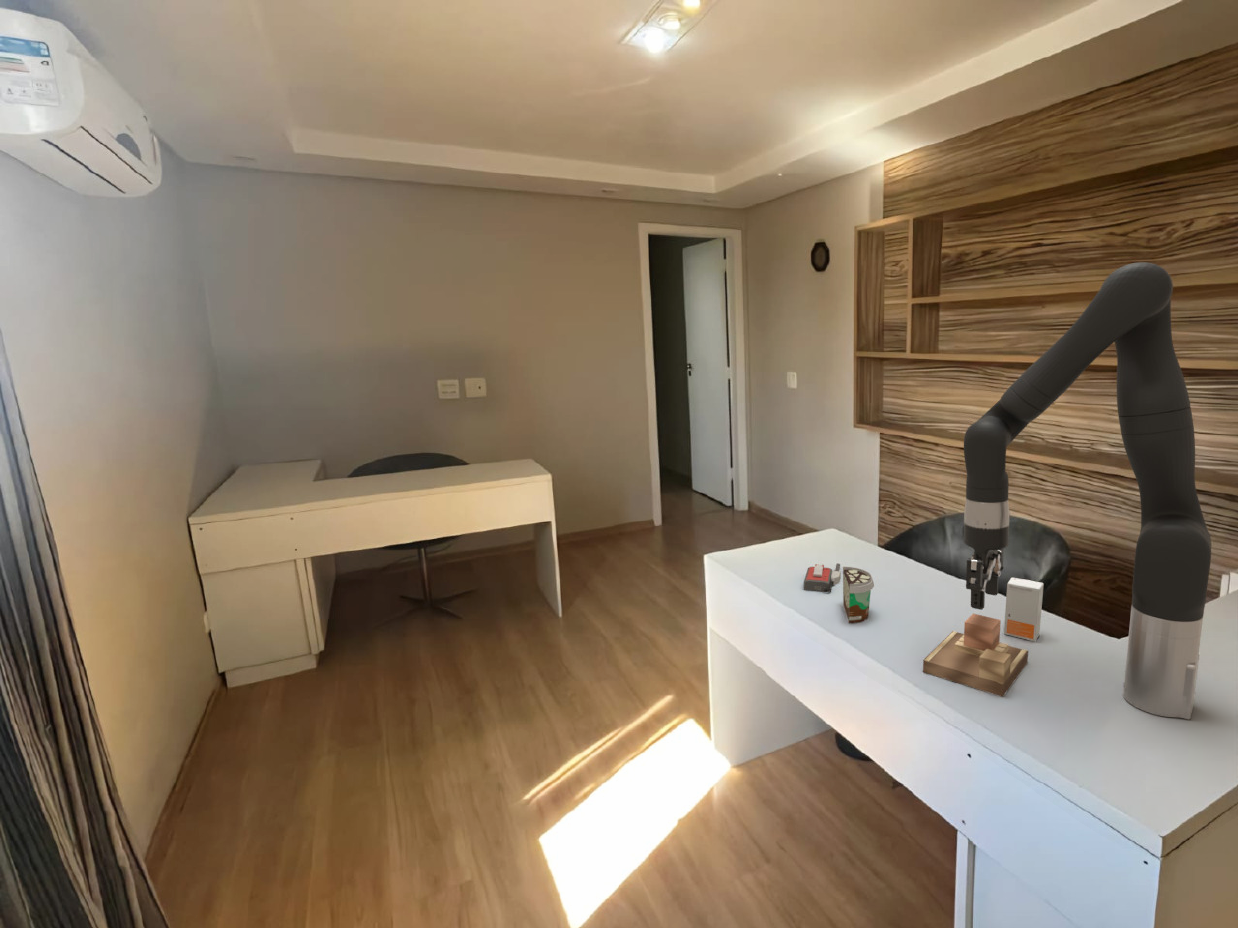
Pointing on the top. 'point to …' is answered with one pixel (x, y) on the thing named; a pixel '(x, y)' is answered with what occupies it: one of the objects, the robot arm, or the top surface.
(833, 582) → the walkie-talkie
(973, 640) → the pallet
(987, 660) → the light brown wooden cube
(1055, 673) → the top surface
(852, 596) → the food container
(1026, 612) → the skincare box
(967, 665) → the dock
